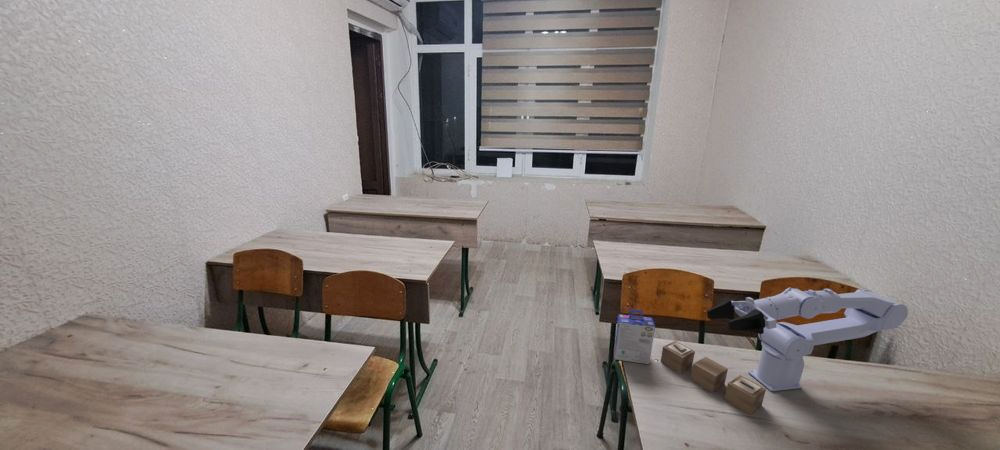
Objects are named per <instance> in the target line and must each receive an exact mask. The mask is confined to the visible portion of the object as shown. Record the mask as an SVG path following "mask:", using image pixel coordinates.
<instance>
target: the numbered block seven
mask: <svg viewBox="0 0 1000 450" xmlns="http://www.w3.org/2000/svg"><path fill="white" fill-rule="evenodd" d="M695 354H696V350H694V349H692V348H690V347H688V346H687V345H684V344H683V343H680V342H679V341H677V340H674V341H672V342H670V343H668V344H665V345H664V346H662V351H661V358H660V363H662V364H664V365H666V366H667V367H669V368H671V369H673V370H674V371H676V372H677V373H679V374H681V373H682V372H684V371H686V370H688V369H690V368H691V367H693V363H694V359H695Z"/></svg>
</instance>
